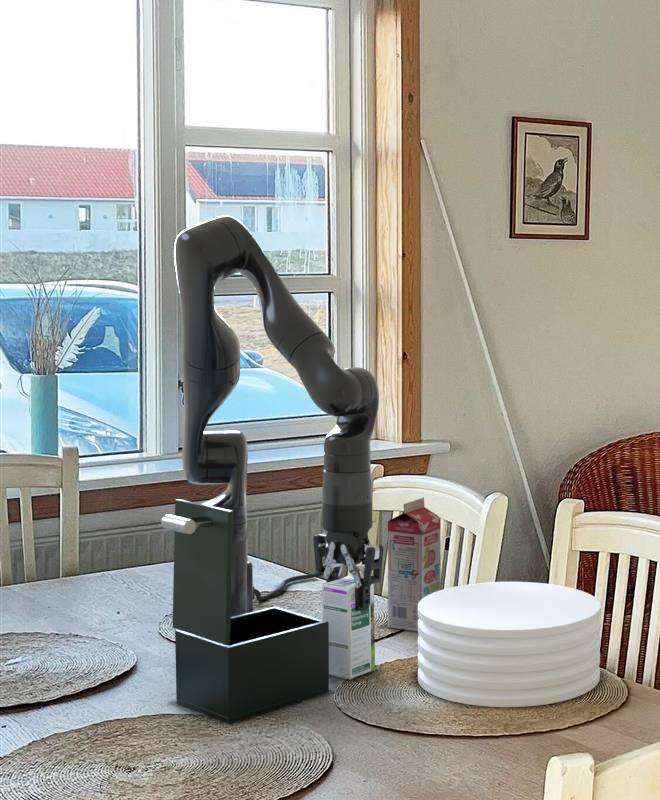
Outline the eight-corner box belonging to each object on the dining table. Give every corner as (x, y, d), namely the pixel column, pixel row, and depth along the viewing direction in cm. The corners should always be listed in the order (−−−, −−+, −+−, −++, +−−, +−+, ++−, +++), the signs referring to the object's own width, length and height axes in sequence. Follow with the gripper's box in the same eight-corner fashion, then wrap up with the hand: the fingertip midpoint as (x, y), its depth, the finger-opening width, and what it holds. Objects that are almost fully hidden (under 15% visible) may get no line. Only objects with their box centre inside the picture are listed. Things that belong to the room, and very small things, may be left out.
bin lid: (179, 498, 192) (146, 502, 188) (233, 510, 185) (200, 514, 180) (177, 626, 194) (144, 632, 190) (230, 644, 186) (196, 650, 182)
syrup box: (350, 680, 206) (350, 587, 205) (321, 673, 209) (321, 581, 208) (375, 670, 211) (375, 579, 209) (347, 664, 214) (346, 574, 212)
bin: (276, 674, 208) (275, 606, 207) (329, 692, 201) (328, 621, 199) (176, 703, 195) (174, 630, 194) (229, 723, 187) (227, 647, 186)
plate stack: (623, 661, 218) (624, 591, 216) (561, 717, 191) (562, 638, 190) (464, 642, 227) (465, 575, 226) (385, 693, 201) (384, 617, 199)
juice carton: (387, 627, 235) (387, 502, 233) (407, 617, 241) (407, 495, 239) (421, 631, 233) (421, 505, 230) (440, 621, 239) (440, 499, 236)
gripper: (397, 501, 205) (397, 609, 207) (335, 489, 214) (336, 593, 216) (359, 508, 200) (360, 619, 202) (297, 495, 209) (298, 602, 211)
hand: (348, 605), depth 209 cm, fingers closed on syrup box, 6 cm apart
